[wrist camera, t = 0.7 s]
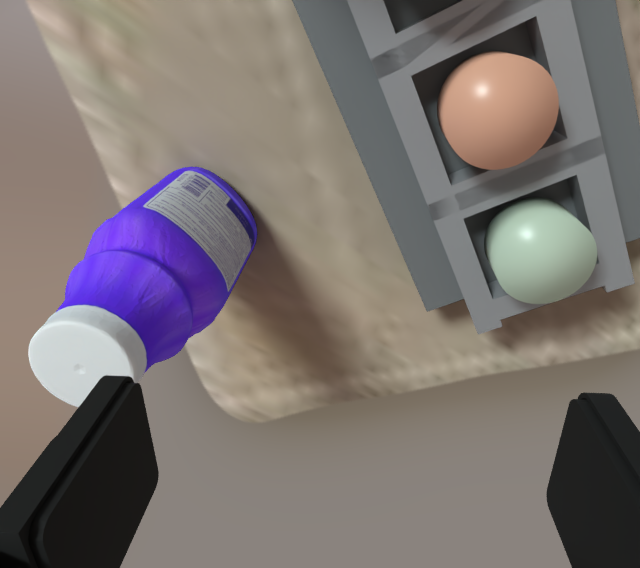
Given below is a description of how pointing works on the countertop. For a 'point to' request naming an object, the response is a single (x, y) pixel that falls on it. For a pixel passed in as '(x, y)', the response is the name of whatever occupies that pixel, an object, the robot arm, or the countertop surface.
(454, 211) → the grey compartment tray
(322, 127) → the countertop surface
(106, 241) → the bottle
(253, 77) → the countertop surface
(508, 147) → the peach rounded dome
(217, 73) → the countertop surface
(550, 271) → the sage button
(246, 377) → the countertop surface
